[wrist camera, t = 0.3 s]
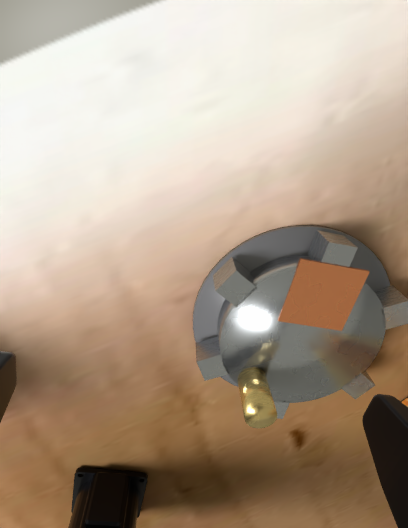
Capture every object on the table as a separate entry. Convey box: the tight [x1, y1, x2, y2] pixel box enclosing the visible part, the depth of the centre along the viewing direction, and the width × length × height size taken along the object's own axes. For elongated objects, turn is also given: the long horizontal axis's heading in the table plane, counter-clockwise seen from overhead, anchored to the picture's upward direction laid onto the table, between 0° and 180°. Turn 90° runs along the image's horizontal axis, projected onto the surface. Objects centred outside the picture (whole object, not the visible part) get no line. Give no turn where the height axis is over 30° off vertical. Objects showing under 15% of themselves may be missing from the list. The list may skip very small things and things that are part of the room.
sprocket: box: [196, 230, 408, 428], centre depth 22 cm, size 14×13×5 cm
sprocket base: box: [193, 225, 390, 387], centre depth 25 cm, size 14×14×1 cm
